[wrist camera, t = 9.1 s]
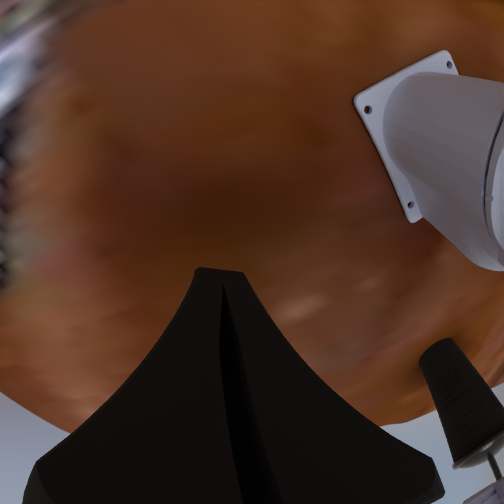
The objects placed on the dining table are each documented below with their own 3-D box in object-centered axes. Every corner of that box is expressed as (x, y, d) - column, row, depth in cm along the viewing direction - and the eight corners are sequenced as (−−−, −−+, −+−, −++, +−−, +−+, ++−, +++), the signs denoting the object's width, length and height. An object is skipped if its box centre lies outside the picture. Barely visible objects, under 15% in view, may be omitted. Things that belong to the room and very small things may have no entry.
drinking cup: (408, 349, 27) (483, 516, 10) (466, 318, 26) (552, 464, 9) (407, 382, 31) (463, 520, 14) (458, 355, 30) (522, 481, 13)
